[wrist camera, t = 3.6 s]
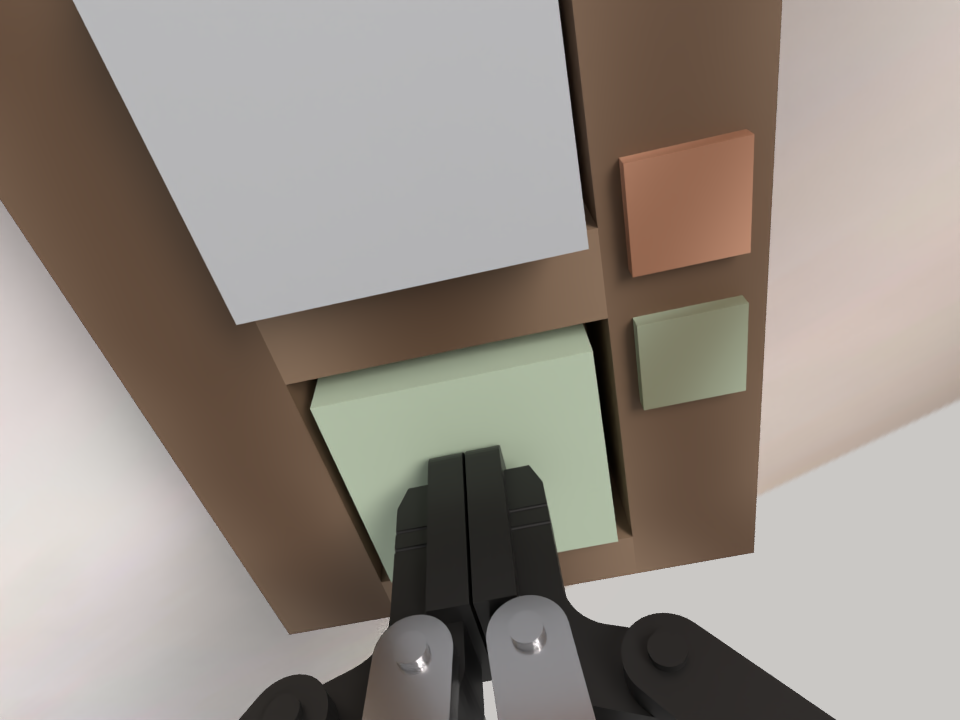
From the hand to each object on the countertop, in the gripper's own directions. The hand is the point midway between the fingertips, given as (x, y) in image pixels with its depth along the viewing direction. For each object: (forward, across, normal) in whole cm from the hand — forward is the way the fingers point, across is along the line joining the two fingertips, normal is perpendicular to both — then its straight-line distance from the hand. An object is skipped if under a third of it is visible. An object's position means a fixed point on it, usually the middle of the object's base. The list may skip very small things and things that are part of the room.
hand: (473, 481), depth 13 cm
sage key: (+3, 0, 0) cm, 3 cm away
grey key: (+2, 0, -8) cm, 8 cm away
